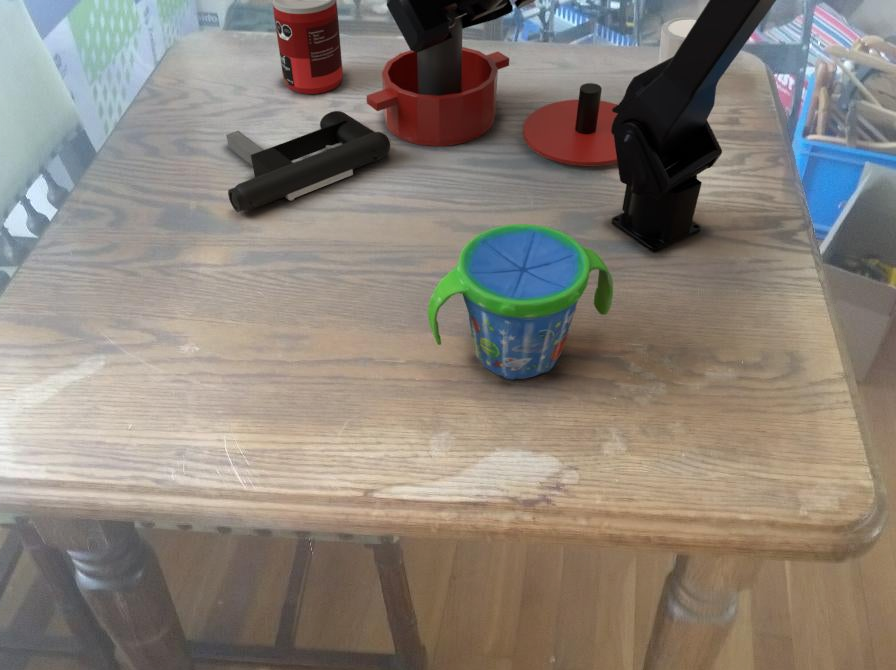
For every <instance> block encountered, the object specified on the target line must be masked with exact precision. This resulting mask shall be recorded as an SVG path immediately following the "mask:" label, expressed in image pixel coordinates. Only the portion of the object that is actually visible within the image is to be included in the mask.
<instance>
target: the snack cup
mask: <svg viewBox="0 0 896 670" xmlns="http://www.w3.org/2000/svg"><path fill="white" fill-rule="evenodd" d="M594 270H598V279H597V287H596V289H595V292H594V296H593V305H594V308H595V310H597V312H598V313H599V314H600V315H602V316H605V315H607V314H608V313H609V312H610V309H611V306H612V302H613V297H614V282H613V277H612V274H611V272H610V270H609V268H608V265H606V263H605V262H604V260H603V259H602V258H601V257H600V255H598V254H597V252H595V251H594V250H592V249H591V248H587V247H585V246H582V245H581V243H580V242H578V241H577V240H576V239H574V238H573V237H571V235H568V234H566V233H565V232H562V231H560V230H557V229H555V228H551V227H547V226H543V225H537V224H530V223H529V224H528V223H514V224H505V225H501V226H498V227H494V228H493V227H492V228H491V229H488V230H485V231H483V232H481V233H479V234H478V235H476V236H474V237H473V238H472V239H471V240H469V241H468V242H467V244H465V246H464V247H463V248H462V250H461V252H460V254H459V257H458V263H457V265H456V266H455V267H454V268H453V269H452V270H451V271H449V272H448V273H446V274H445V276H442V278H441V280H440V282H439V283H438V284H437V285H436V287H435V288H434V290H433V292H432V295H431V297H430V299H429V303H428V308H427V320H428V323H429V327H430V329H431V332H432V335H433V338H434V340H435V342H436V344H437V345H438V346H441V345H442V341H441V340H442V339H441V335H440V330H439V329H440V328H439V321H438V313H439V310H440V308H441V307H442V306H443V305H444V304H445V303H446V302H447V301H449V299H450V298H451V297H453V296H455V295H458V294H459V295H460V294H461V295H462V297H463V300H464V303H465V307H466V310H467V312H468V322H469V327H470V333H471V339H472V344H473V350H474V353H475V356H476V359H477V361H478V362H480V363H481V364H482V365H483V367H485V368H486V369H487V370H489V371H490V372H491V373H493V374H496V375H498V376H501V377H503V378H504V379H506V380H512V381H513V380H515V379H525V380H526V379H529V378H533V377H536V376H538V375H540V374H546V373H548V372H549V371H551V370H552V369H553V368H554V366H555V364H556V363H557V361H559V359H560V356H561V354H562V352H563V349H564V346H565V343H566V341H567V337H568V333H569V331H570V330H569V329H570V327H571V324H572V322H573V318H574V314H575V313H576V310H577V304H578V301H579V300H580V298H581V297H582V296H583V294H584V292H585V290H586V288H587V287H588V283H589V278H590V273H591V272H592V271H594Z"/></svg>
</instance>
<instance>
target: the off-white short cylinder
mask: <svg viewBox="0 0 896 670" xmlns="http://www.w3.org/2000/svg"><path fill="white" fill-rule="evenodd" d="M698 18H699V17H692V16H690V17H678V18H677V17H676V18H671V19H669V20H667V21H665V22H664V23H663V24H662V26H661V33H660V44H659V52H658V53H659V55H658V64H660V63H662V62H664V61H666V60H668V59H670V58H672V57H674V55H675V54H676V52H677V50H678V49H679V47H680V46H681V44H682V43H683V41H684V39H685V38H686V36H687V35H688V33H689V32H690V30H691V29H692V27H693V25H694V24H695V22H696V21H697V19H698Z"/></svg>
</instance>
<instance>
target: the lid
mask: <svg viewBox="0 0 896 670" xmlns="http://www.w3.org/2000/svg"><path fill="white" fill-rule="evenodd" d="M602 91H603V89H602V86H601V85H599V84H597V83H595V82H594V83H593V82H587V83H584V84H581V85H580V87H579V93H578V99H567V100H566V99H565V100H561V101H560V100H559V101H556V102H552V103H549V104H546V105H544V106H541V107H539V108H537V109H536V110H534V111H532V112H531V113H530V114H529V115H528V116H527V117H526V119H525V120H524V123H523V126H522V137H523V140H524V141H525V143H526V145H527V146H528V147H529V148H530V149H532V150H533V151H534V152H535V153H537V154H538V155H540V156H542V157H544V158H547V159H549V160H551V161H555V162H558V163H561V164H567V165H570V166H571V165H573V166H580V167H581V166H582V167H583V166H584V167H598V166H606V165H607V166H608V165H613V164H618V163H617V155H616V148H615V141H614V135H613V134H612V133H611V129H612V123H613V121H614V118H615V117H616V115H617V114H618V113H614V112H613V111H612V109H613V108H614V107H616V106H617V105H618V104H617V103H613V102H610V101H605V100H601V96H602Z"/></svg>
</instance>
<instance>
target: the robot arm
mask: <svg viewBox="0 0 896 670" xmlns="http://www.w3.org/2000/svg"><path fill="white" fill-rule="evenodd" d="M535 2H536V0H515V1H514V4H515V8H516V9H517V10H519V9H522V8H524V7H527V6H528V5H531V4H533V3H535ZM776 2H777V0H708V2H707V3H706V5H705V6H704V8H703V10H702V11H701V13H700V14H699V16H698V17H697V18H698V19H697V21H696V22H695V24H694V25H693V27H692V29H691V30H690V32H689V33H688V35H687V36H686V38H685V39H684V41H683V43H682V44H681V46H680V47H679V49H678V50H677V52H676V54H675V55H674V57H672V58H670V59H668V60H666V61H664V62H662V63H660V64H659V63H658V64H656V65H654V66H652V67H651V68H649V69H647V70H645V71H643V72H641V73H639V74H637V75H635V76H634V77H632V79H631V81H630V82H629V84H627V85H628V86H627V88H626V90H625V93H624V96H623V97H622V100H621V101H620V102H619V103H618V104H617V106H616V107H614V108H613V109H612V111H613V112H614V113H618V114H617V115H616V117H615V118H614V121H613V123H612V129H611V133H612V134H613V135H614V141H615V148H616V155H617V163H616V164H617V169H618V176H619V181H620V182H621V183H622V184H624V185H625V190H624V196H623V203H622V206H621V207H622V208H621V209H622V211H623V212H622V213H620V214H618V215H615V216H613V217H612V218H611V222H610V223H611V224H612V225H613V226H614V227H616V228H617V229H618V230H620V231H621V232H622V233H624V234H626V235H627V236H629V237H630V238H631V239H633V240H634V241H636V242H637V243H639V244H640V245H641V246H643V247H644V248H646V249H647V250H649V251H650V252H652V253H657V252H660V251H662V250H664V249H666V248H669V247H671V246H672V245H675V244H677V243H680V242H681V241H684V240H686V239H688V238H690V237H692V236H695V235H696V234H699V233H700V232H701V230H702V226H701V225H700V224H699V223H697V222H695V221H694V215H695V212H696V208H697V203H698V200H699V197H700V196H699V195H700V192H701V188H702V181H701V180H699V179H698V175H699V174H700V173H702V172H704V171H705V170H707V169H711V168H712V167H713V166H715V164H716V162H717V161H718V159H719V158H720V157H721V155H722V153H723V149H722V147H721V145H720V143H719V141H718V139H717V137H716V135H715V133H714V131H713V129H712V127H711V125H710V123H709V121H708V118H709V116H710V114H711V112H712V111H713V108H714V106H715V101H716V91H717V85H718V83H719V81H720V80H721V78H722V77H723V76H724V74H725V73H726V71H727V70H728V68H729V67H730V65H731V64H732V63H733V61H734V60H735V59H736V57H737V56H738V54H739V53H740V51H741V50H742V49H743V47H744V46H745V45H746V43H747V42H748V41H749V39H750V38H751V37H752V35H753V34H754V32H755V31H756V29H757V28H758V27H759V25H760V24H761V22H762V21H763V20H764V18H765V17H766V15H768V13H769V11H770V10H771V9H772V7H773V6H774V5H775V3H776ZM386 7H387V9H388V11H389V13H390V15H391V16H392V18H393V20H394V22H395V24H396V26H397V28H398V29H399V32H400V33H401V35H402V37H403V39H404V40H405V43H406V44H407V46H408V48H409V49H410V50H412V51H414V52H416V53H418V52H421V51H423V50H425V49H428V48H430V47H432V46H435V45H438V44H440V43H443V42H445V41H447V40H449V39H452V38H453V37H452V35H451V33H450V31H449V29H450V28H452V27H453V26H454V25H455V19H456V18H459V17H461V16H463V23H462V30H463V29H468V28H470V27H474V26H477V25H480V24H485V23H488V22H491V21H495V20H497V19H500V18H502V17H504V16H507V15H509V14H511V13H512V12H513V11H514V7H513V3H512V2H511V0H387V1H386ZM455 7H456V8H455ZM453 8H454V9H453ZM450 9H451V10H450ZM448 10H449V11H448ZM410 50H409V51H410Z"/></svg>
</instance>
